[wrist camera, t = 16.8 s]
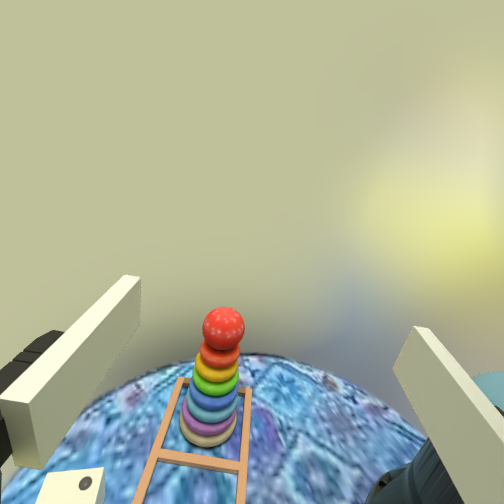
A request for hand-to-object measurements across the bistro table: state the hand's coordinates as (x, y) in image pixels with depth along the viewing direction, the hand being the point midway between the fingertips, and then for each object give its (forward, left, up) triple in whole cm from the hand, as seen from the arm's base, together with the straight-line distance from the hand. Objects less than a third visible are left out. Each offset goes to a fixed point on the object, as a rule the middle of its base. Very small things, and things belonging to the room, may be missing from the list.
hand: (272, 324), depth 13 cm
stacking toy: (+3, -16, -30) cm, 34 cm away
